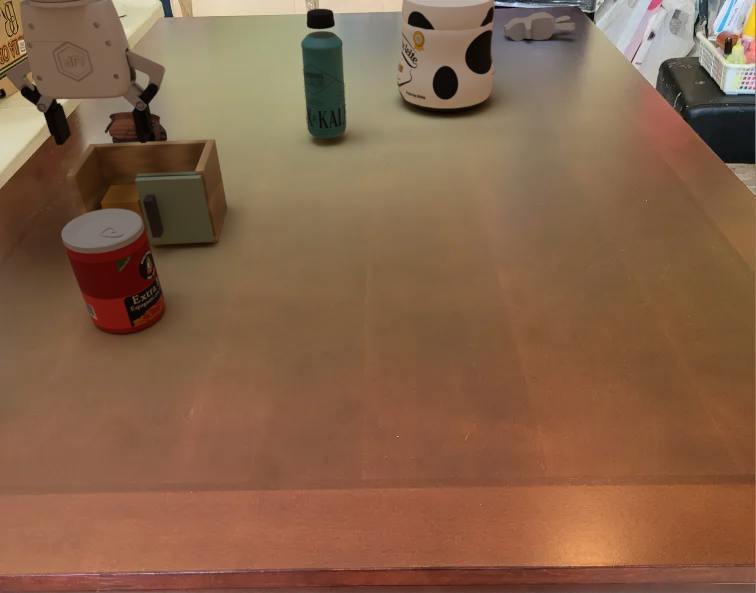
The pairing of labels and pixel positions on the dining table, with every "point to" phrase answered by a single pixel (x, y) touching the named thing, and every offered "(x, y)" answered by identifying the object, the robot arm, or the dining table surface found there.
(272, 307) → the dining table surface
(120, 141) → the pottery mug
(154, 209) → the closet door
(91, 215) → the canned food
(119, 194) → the block
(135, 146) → the cupboard
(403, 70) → the milk container
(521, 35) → the bunny figurine
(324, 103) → the beverage bottle
